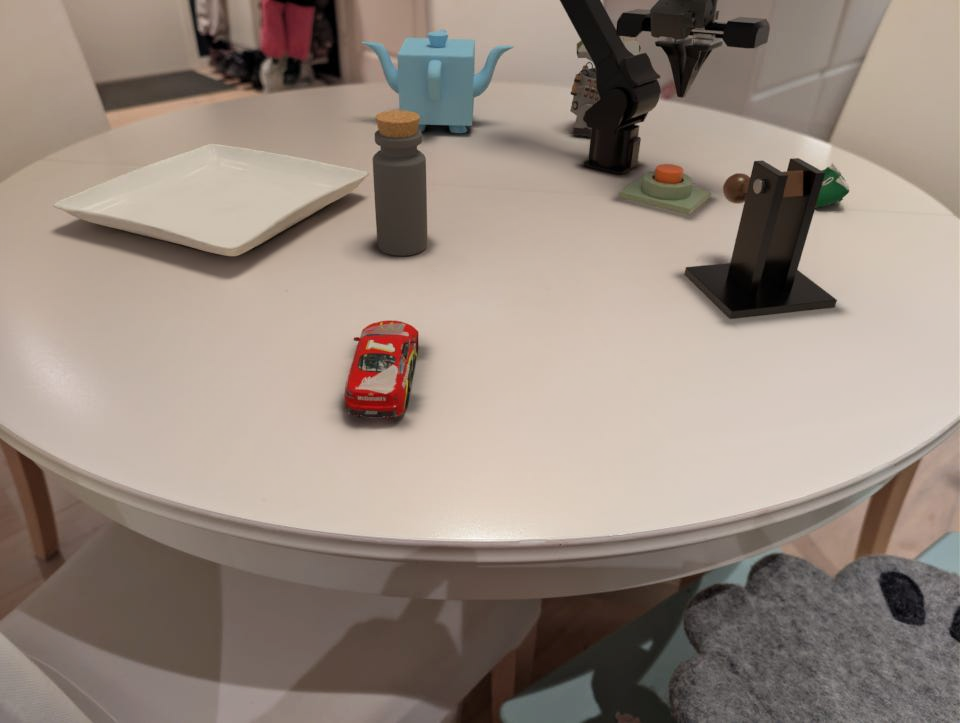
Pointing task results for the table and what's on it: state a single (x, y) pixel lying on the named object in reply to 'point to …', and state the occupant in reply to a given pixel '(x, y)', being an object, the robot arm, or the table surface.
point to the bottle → (400, 184)
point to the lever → (739, 183)
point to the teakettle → (438, 78)
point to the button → (668, 174)
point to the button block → (666, 194)
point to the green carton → (832, 187)
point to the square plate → (215, 197)
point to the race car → (382, 370)
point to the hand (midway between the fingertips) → (681, 96)
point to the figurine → (590, 86)
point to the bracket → (768, 249)
